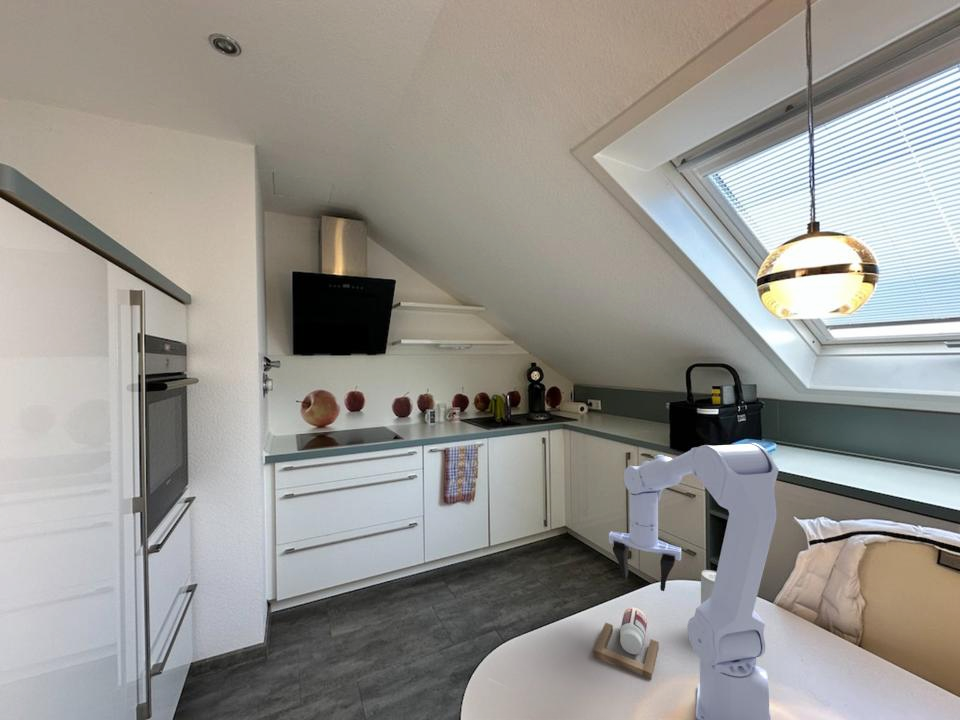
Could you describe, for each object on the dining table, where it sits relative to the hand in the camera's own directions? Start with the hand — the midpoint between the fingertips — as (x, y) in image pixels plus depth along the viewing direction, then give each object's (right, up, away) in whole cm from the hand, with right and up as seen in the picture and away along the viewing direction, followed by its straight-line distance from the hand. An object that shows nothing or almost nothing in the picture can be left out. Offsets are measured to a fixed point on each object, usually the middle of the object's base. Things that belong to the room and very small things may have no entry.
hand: (643, 582), depth 84 cm
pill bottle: (-2, -7, -1) cm, 7 cm away
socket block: (-6, -10, -7) cm, 13 cm away
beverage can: (+14, -10, -2) cm, 17 cm away
